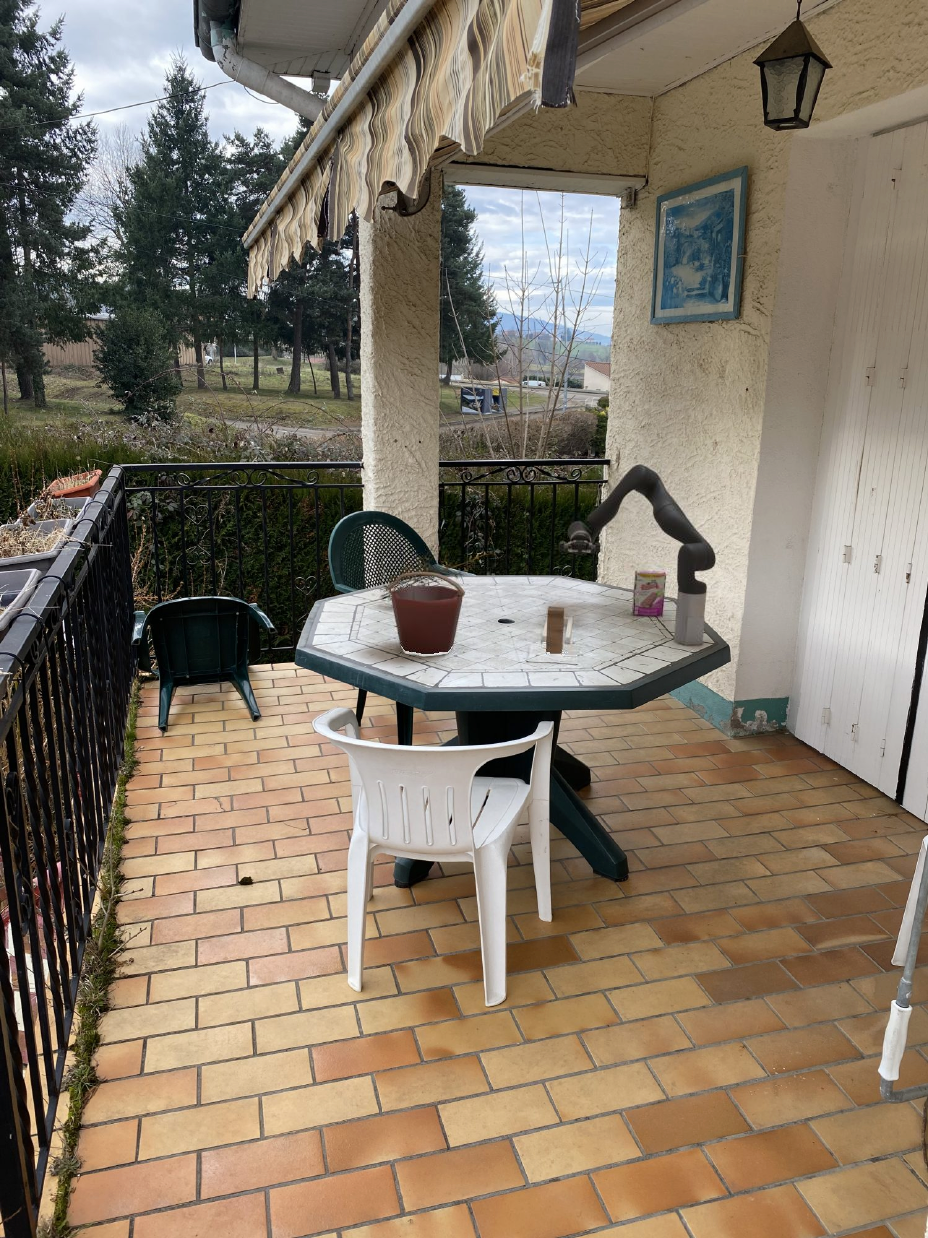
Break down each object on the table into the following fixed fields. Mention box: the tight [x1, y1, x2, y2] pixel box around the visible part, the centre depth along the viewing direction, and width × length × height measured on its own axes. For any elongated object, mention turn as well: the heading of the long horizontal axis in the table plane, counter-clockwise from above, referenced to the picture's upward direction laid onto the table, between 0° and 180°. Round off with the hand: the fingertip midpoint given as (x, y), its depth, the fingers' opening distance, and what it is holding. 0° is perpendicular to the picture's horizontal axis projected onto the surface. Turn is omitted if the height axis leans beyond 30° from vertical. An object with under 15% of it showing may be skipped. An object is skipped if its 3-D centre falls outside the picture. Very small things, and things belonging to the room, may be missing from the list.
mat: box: [543, 643, 581, 662], centre depth 285 cm, size 20×16×1 cm
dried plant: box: [378, 541, 494, 603], centre depth 333 cm, size 30×31×45 cm
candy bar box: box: [631, 569, 667, 617], centre depth 332 cm, size 11×5×16 cm, turn 84°
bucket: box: [386, 571, 466, 654], centre depth 285 cm, size 24×22×25 cm
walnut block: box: [546, 605, 565, 653], centre depth 285 cm, size 5×5×14 cm
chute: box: [541, 616, 574, 645], centre depth 308 cm, size 26×9×2 cm, turn 171°
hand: (579, 550), depth 306 cm, fingers open, 8 cm apart
